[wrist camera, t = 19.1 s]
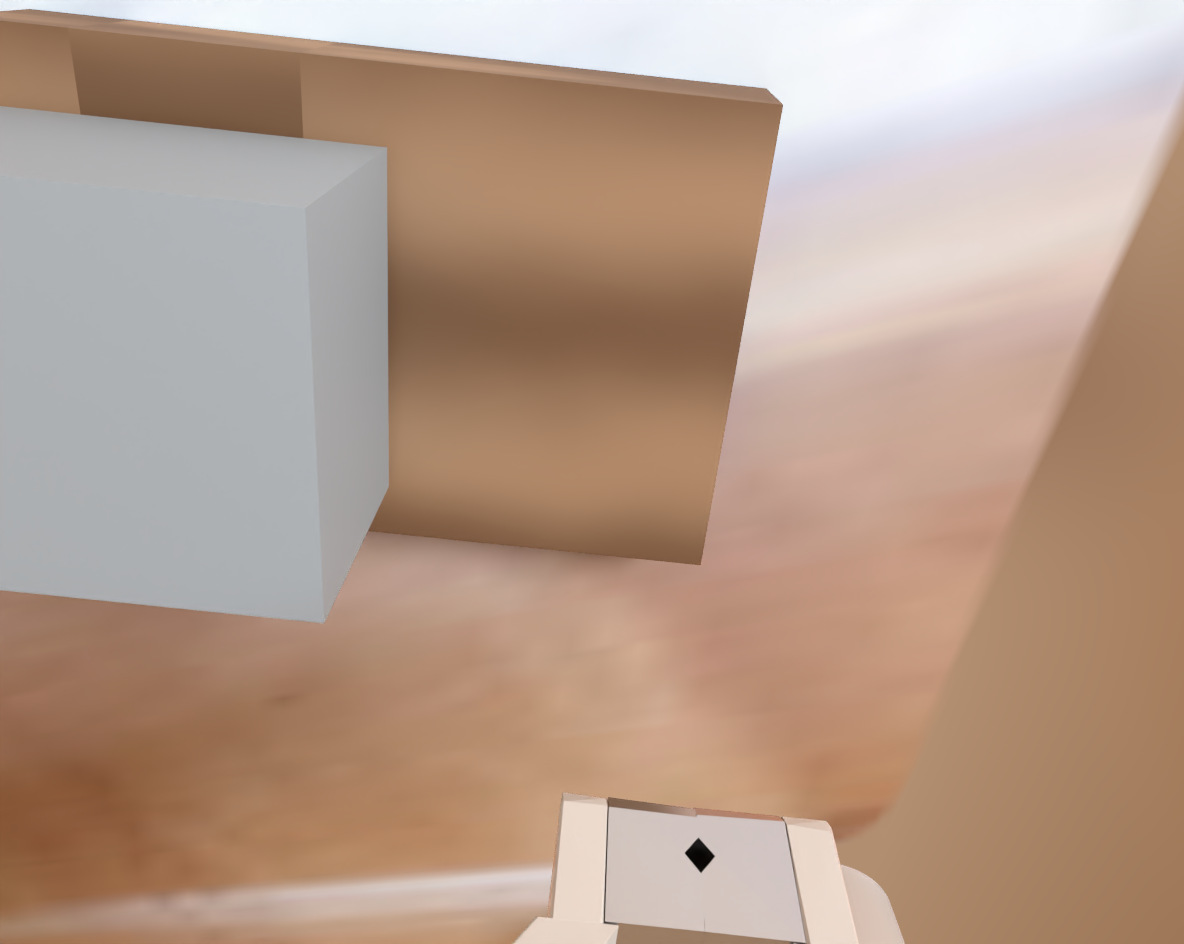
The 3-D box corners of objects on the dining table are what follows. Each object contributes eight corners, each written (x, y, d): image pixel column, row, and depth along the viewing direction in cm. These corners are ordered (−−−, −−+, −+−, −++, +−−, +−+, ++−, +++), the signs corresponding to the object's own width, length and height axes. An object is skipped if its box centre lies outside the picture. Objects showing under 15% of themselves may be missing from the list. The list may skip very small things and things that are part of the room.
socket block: (694, 510, 29) (700, 564, 26) (101, 448, 29) (47, 497, 26) (766, 88, 23) (783, 104, 21) (29, 9, 23) (-49, 14, 21)
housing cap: (388, 486, 25) (324, 623, 20) (46, 451, 25) (-108, 579, 20) (387, 147, 21) (305, 207, 16) (-22, 103, 21) (-239, 149, 16)
